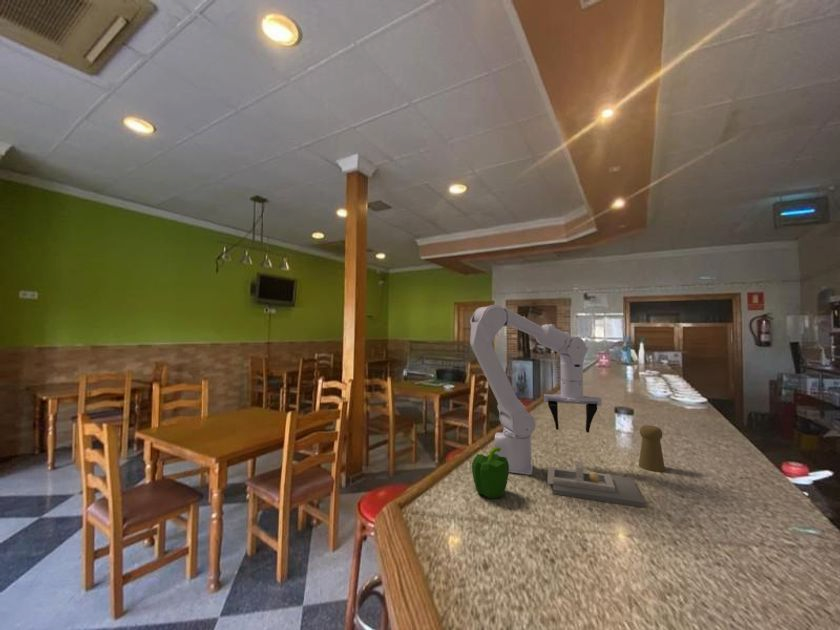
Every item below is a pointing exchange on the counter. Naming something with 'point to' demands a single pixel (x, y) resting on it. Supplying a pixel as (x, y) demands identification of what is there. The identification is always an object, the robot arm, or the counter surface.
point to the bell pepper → (490, 474)
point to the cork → (651, 449)
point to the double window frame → (580, 479)
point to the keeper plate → (623, 492)
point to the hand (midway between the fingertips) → (572, 430)
